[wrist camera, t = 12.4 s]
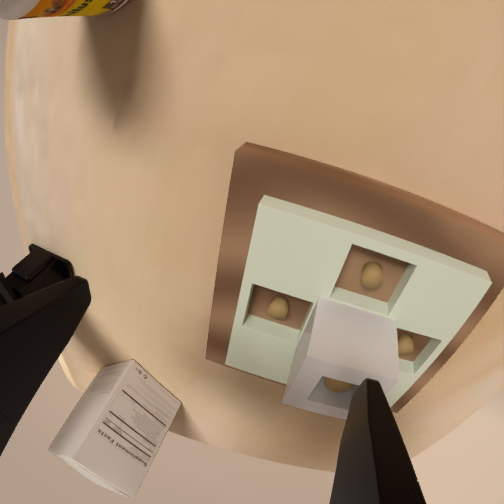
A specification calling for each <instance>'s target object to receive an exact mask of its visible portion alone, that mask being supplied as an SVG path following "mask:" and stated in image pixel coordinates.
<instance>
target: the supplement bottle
mask: <svg viewBox="0 0 504 504" xmlns="http://www.w3.org/2000/svg"><path fill="white" fill-rule="evenodd" d="M127 1H128V0H0V18H2V19H5V20H15V19H25V18H37V17H54V16H102V15H106V14H109V13H112V12H114V11H116V10H117V9H119V8H120V7H122V6H123V5H124V4H125V3H126V2H127Z"/></svg>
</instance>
